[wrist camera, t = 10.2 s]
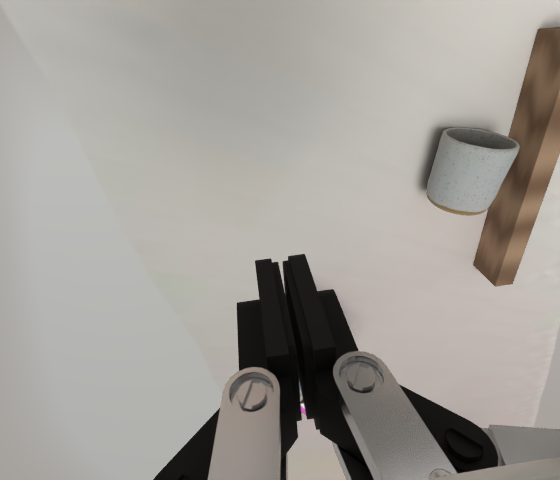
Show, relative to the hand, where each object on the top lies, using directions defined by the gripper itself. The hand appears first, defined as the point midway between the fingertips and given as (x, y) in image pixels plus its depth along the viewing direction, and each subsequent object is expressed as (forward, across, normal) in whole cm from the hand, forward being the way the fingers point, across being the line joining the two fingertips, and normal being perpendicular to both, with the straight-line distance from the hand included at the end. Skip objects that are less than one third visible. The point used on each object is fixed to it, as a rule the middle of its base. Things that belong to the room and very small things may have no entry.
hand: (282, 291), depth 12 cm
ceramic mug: (+29, -25, +8) cm, 40 cm away
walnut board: (+29, -32, +10) cm, 44 cm away
